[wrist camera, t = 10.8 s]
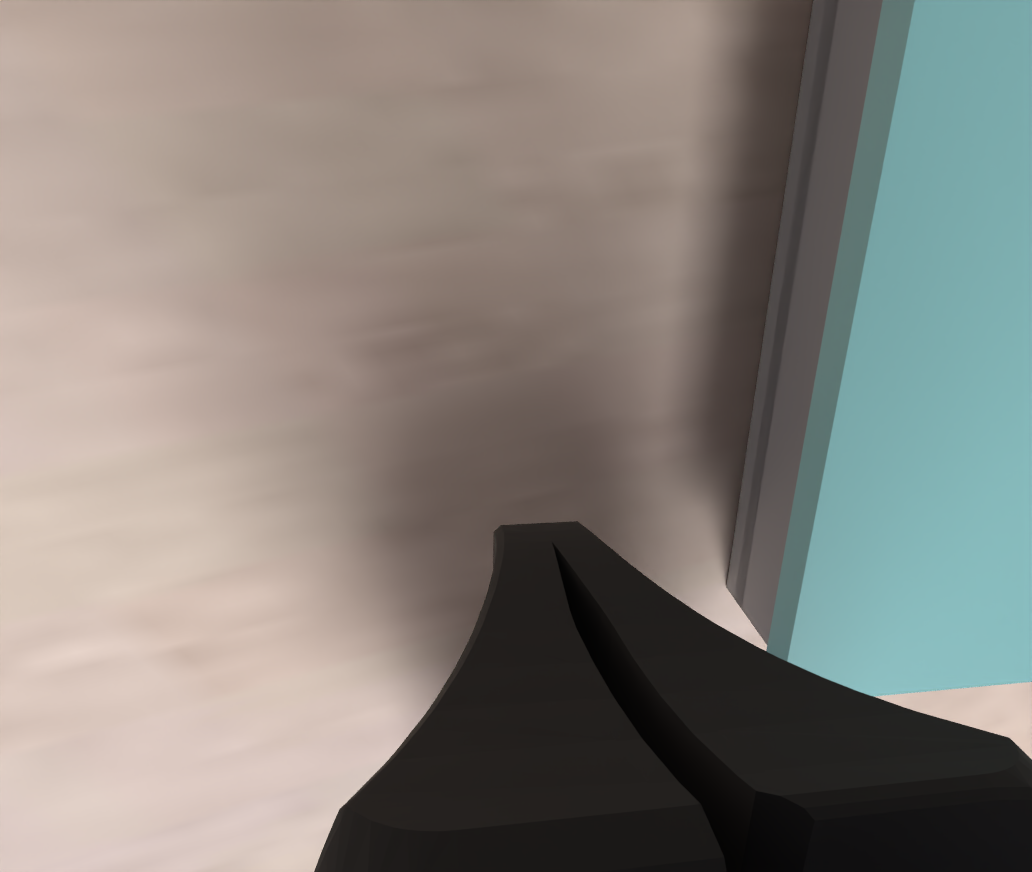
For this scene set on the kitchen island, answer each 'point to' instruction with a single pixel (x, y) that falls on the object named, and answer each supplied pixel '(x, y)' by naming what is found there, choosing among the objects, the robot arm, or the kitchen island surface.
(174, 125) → the kitchen island surface
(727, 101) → the kitchen island surface
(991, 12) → the panel
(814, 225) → the cable duct
